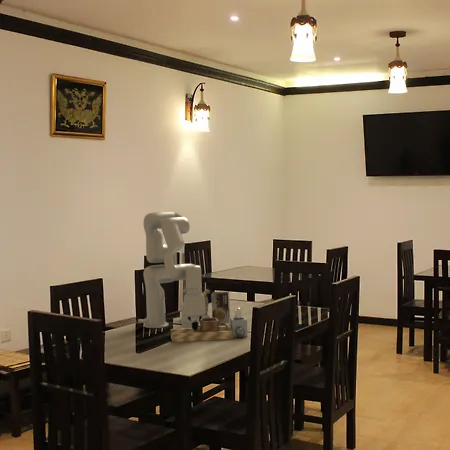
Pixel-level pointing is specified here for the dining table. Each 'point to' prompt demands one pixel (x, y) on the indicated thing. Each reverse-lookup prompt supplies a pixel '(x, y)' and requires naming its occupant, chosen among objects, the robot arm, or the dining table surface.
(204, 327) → the crate
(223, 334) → the tray
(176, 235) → the robot arm
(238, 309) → the pin
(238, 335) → the grey hollow block
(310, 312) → the dining table surface
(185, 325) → the supplement box
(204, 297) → the tankard
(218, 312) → the coffee box
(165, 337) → the dining table surface
